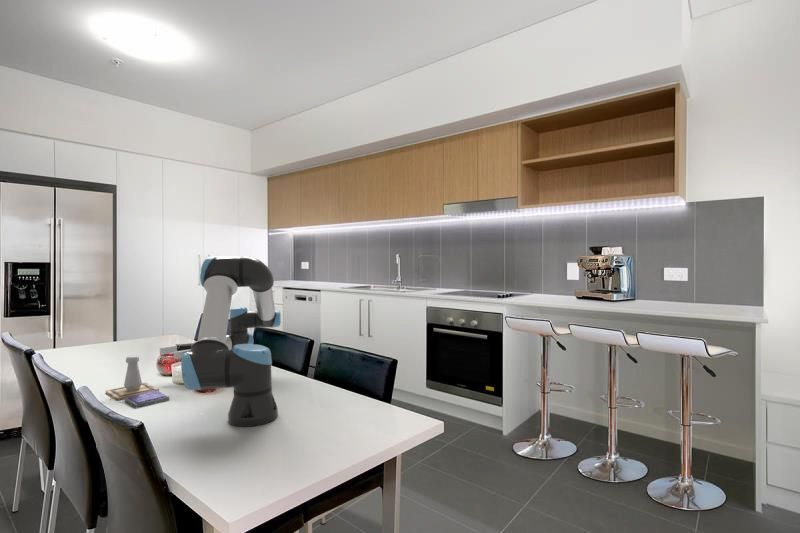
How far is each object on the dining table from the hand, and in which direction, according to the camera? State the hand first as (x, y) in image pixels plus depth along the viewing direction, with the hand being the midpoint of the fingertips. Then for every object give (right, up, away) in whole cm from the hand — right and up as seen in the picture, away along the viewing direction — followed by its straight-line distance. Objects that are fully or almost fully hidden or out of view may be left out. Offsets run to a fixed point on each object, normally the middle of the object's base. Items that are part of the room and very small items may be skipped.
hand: (166, 353), depth 176 cm
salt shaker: (-10, -13, -6) cm, 17 cm away
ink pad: (+1, -14, -16) cm, 21 cm away
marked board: (-10, -14, -7) cm, 18 cm away
